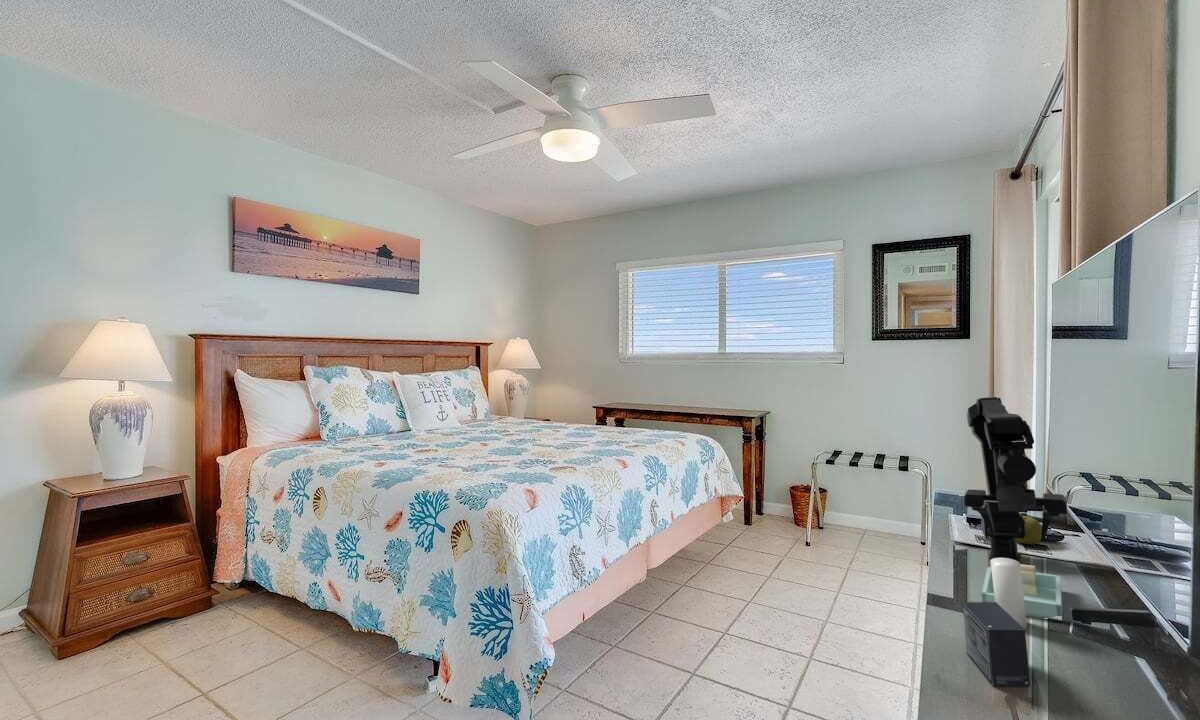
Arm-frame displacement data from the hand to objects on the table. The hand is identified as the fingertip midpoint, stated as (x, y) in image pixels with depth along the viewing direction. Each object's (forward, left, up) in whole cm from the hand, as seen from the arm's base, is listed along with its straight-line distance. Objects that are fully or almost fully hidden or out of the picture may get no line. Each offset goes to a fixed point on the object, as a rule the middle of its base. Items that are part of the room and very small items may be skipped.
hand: (1017, 537), depth 127 cm
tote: (+4, 0, -13) cm, 13 cm away
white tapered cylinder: (+16, -2, -13) cm, 21 cm away
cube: (0, 0, -12) cm, 12 cm away
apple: (-33, -1, -13) cm, 35 cm away
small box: (+35, -3, -13) cm, 38 cm away
